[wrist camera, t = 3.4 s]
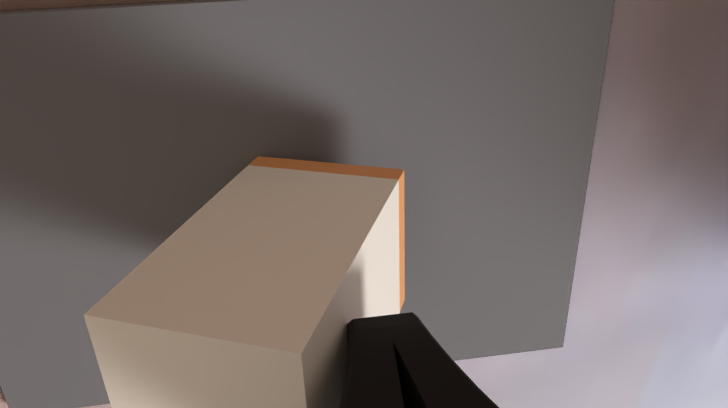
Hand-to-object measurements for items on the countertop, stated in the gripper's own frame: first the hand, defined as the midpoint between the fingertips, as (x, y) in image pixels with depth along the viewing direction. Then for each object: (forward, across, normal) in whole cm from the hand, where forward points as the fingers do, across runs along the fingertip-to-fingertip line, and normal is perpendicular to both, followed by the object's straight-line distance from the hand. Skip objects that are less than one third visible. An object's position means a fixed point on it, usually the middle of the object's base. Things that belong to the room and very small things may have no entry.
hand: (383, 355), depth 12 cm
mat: (+6, +2, 0) cm, 7 cm away
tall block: (+5, 0, 0) cm, 5 cm away
